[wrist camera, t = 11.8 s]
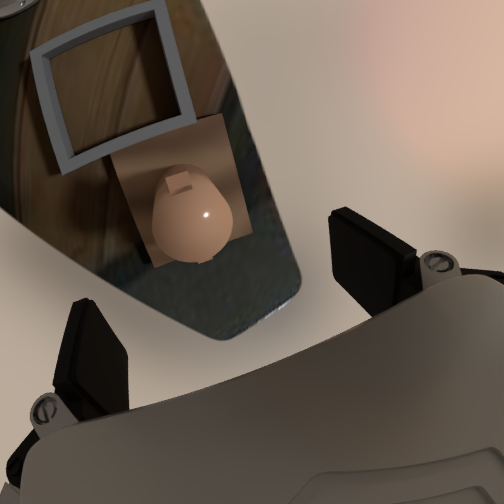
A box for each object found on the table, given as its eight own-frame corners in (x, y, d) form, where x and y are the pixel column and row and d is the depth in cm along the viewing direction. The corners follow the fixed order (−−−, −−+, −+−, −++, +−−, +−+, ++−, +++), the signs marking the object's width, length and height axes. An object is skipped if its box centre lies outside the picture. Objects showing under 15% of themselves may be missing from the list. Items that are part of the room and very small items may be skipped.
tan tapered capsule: (200, 147, 28) (217, 160, 20) (222, 225, 33) (246, 268, 24) (144, 165, 27) (135, 188, 19) (171, 242, 32) (177, 292, 23)
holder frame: (38, 55, 19) (29, 51, 17) (163, 5, 21) (163, -3, 19) (69, 171, 26) (62, 175, 24) (194, 122, 28) (197, 122, 26)
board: (110, 150, 27) (109, 151, 26) (219, 113, 28) (221, 113, 27) (154, 263, 33) (154, 267, 32) (249, 228, 35) (252, 232, 34)
